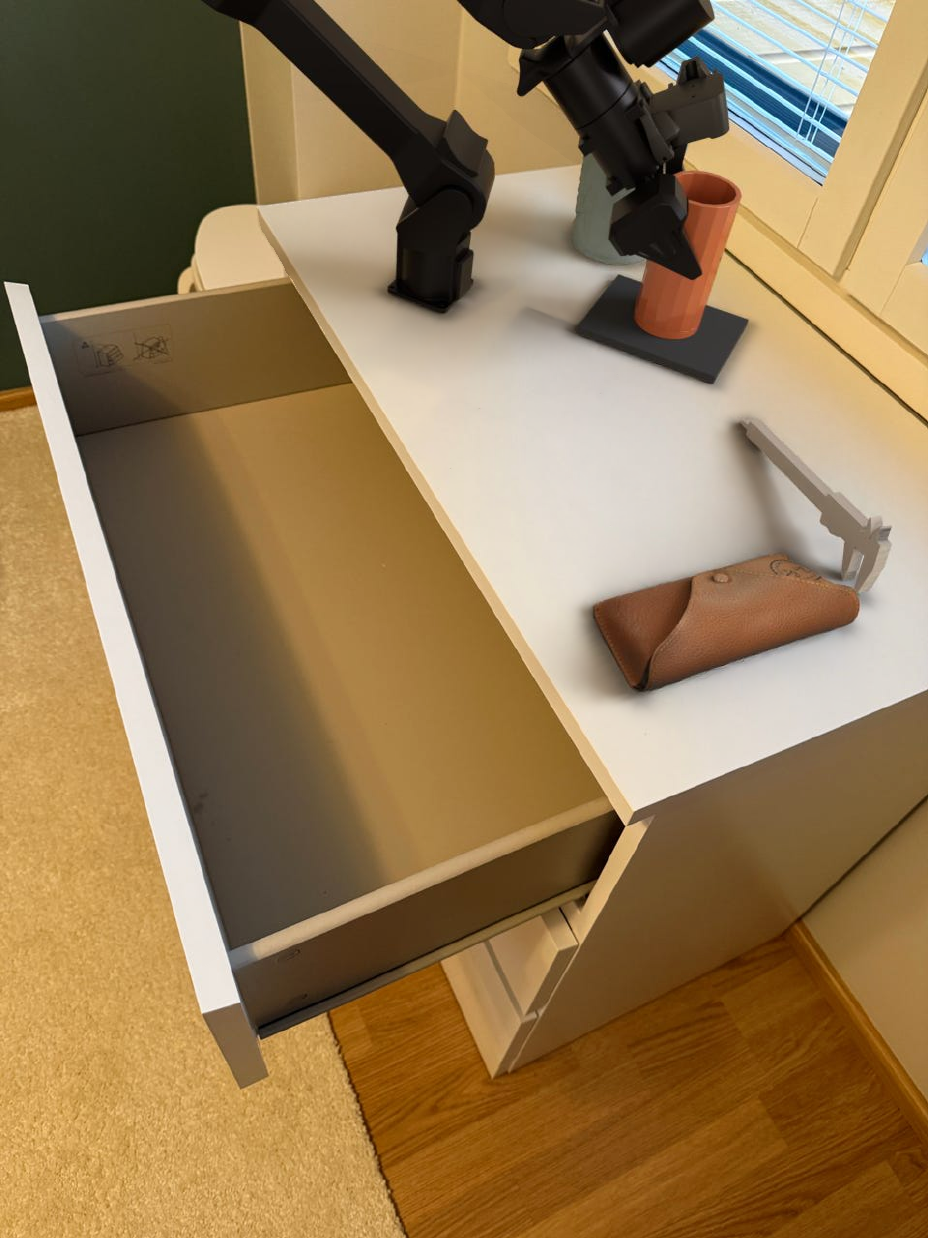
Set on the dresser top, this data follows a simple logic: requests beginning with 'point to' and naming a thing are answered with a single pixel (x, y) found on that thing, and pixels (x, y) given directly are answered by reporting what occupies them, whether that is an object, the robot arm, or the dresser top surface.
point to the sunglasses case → (719, 618)
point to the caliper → (831, 510)
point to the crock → (677, 300)
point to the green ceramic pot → (596, 216)
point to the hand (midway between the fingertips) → (696, 249)
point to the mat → (686, 355)
